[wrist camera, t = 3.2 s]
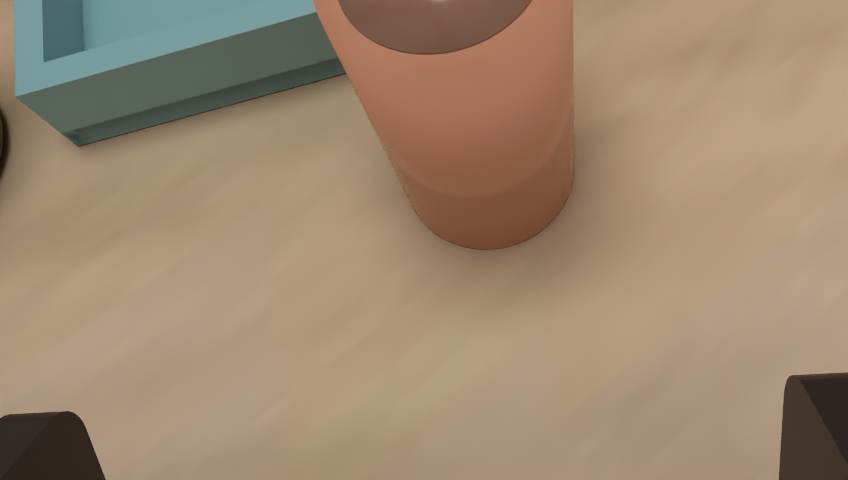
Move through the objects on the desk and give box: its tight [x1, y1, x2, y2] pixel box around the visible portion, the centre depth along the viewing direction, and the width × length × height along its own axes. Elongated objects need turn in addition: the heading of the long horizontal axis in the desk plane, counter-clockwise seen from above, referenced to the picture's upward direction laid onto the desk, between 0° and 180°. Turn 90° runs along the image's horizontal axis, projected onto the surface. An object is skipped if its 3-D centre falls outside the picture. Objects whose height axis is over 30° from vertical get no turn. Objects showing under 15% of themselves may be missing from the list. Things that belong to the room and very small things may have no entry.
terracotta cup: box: [313, 0, 574, 249], centre depth 21 cm, size 5×5×10 cm
